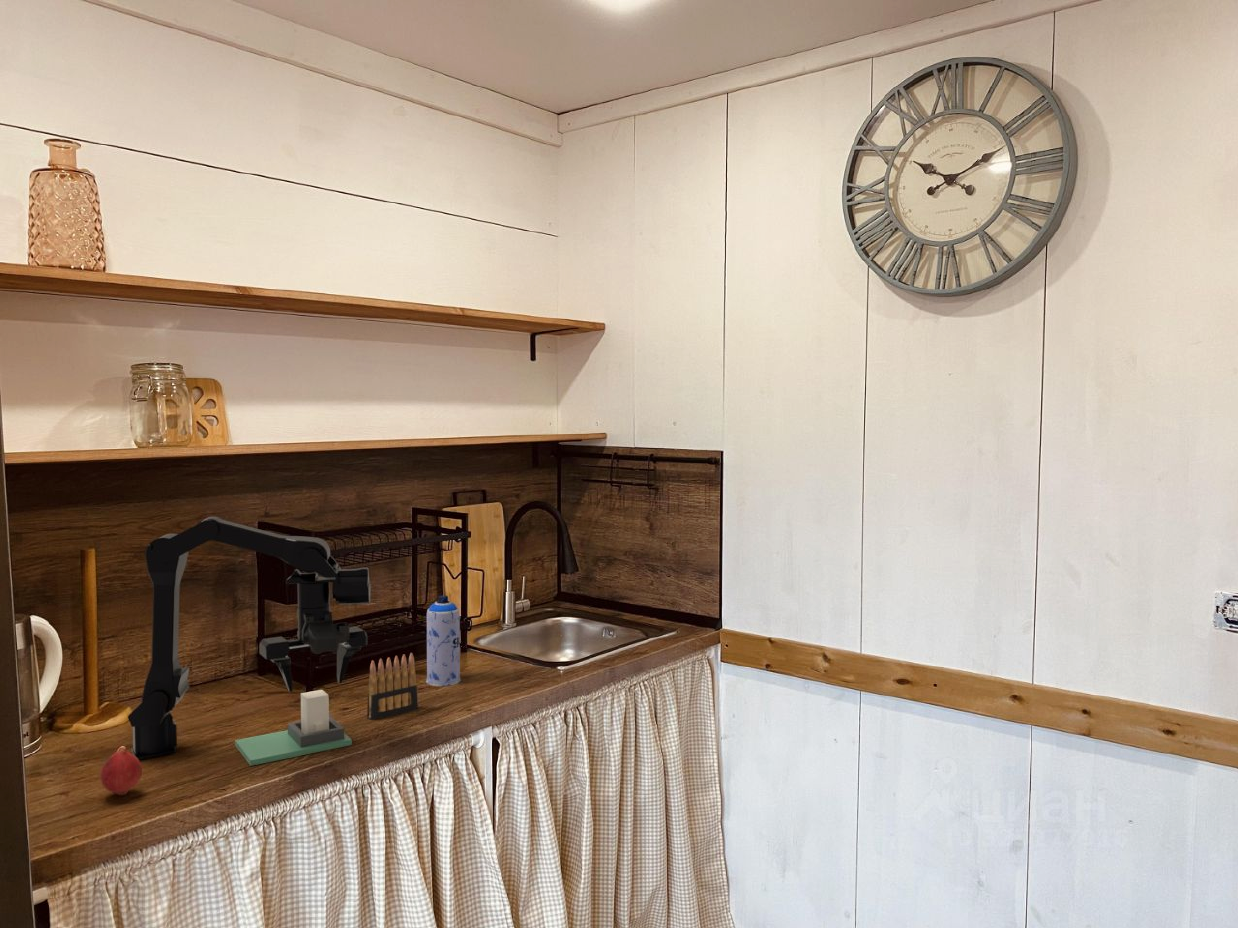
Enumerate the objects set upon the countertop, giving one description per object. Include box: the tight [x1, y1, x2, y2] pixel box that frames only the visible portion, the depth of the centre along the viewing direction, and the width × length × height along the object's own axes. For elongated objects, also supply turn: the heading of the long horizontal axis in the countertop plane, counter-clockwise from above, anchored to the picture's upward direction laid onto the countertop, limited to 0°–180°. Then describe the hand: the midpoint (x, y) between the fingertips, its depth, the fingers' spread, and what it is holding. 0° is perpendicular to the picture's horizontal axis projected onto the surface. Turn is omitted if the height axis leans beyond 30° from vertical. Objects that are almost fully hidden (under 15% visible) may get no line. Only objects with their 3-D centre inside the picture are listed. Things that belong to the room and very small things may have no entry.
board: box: [234, 715, 353, 767], centre depth 168 cm, size 18×12×3 cm, turn 125°
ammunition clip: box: [366, 652, 419, 721], centre depth 186 cm, size 11×2×12 cm, turn 132°
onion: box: [100, 745, 143, 796], centre depth 145 cm, size 6×6×8 cm
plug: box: [300, 689, 330, 734], centre depth 170 cm, size 4×7×8 cm, turn 36°
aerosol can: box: [425, 594, 462, 687], centre depth 208 cm, size 8×8×20 cm
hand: (315, 687), depth 169 cm, fingers open, 9 cm apart
